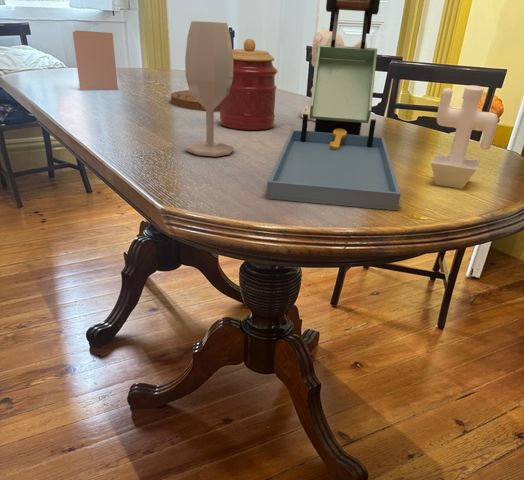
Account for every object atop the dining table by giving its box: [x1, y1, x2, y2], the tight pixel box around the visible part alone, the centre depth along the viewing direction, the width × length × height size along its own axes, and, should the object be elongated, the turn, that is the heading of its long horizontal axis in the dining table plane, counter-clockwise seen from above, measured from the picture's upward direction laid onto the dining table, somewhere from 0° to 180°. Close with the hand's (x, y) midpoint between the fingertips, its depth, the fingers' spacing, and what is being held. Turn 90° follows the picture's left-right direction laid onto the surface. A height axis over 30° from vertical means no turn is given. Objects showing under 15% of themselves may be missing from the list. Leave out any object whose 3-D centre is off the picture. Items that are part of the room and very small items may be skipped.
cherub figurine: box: [300, 27, 368, 122], centre depth 130 cm, size 13×12×20 cm
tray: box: [266, 129, 402, 211], centre depth 91 cm, size 40×19×2 cm, turn 172°
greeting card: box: [72, 29, 119, 91], centre depth 153 cm, size 11×7×15 cm, turn 84°
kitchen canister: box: [219, 38, 278, 131], centre depth 117 cm, size 13×13×18 cm
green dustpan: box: [310, 0, 378, 124], centre depth 104 cm, size 24×12×6 cm
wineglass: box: [184, 20, 234, 158], centre depth 92 cm, size 9×9×21 cm
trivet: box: [170, 89, 221, 112], centre depth 145 cm, size 25×25×2 cm
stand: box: [301, 114, 377, 148], centre depth 111 cm, size 14×15×6 cm
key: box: [329, 128, 347, 150], centre depth 104 cm, size 7×3×1 cm, turn 166°
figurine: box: [430, 84, 499, 190], centre depth 84 cm, size 7×9×15 cm
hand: (349, 32), depth 107 cm, fingers closed on green dustpan, 7 cm apart
